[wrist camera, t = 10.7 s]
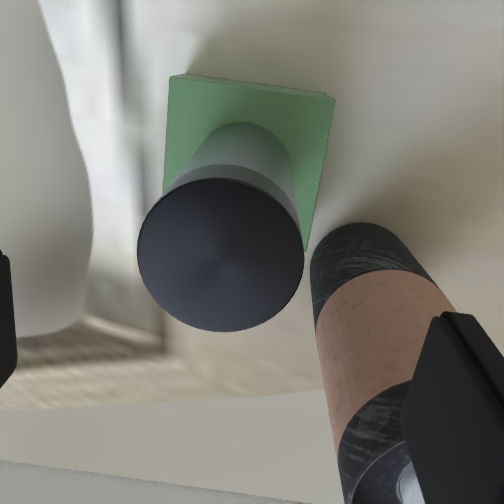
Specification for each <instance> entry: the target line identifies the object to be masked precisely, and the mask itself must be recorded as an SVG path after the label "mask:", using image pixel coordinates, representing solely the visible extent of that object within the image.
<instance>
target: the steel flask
mask: <svg viewBox="0 0 504 504" xmlns="http://www.w3.org/2000/svg"><path fill="white" fill-rule="evenodd" d="M137 259H138V266H139V270H140V274H141V276H142V279H143V282H144V284H145V286H146V288H147V289H148V291H149V293H150V294H151V295H152V297H153V298H154V300H155V301H156V302H157V303H158V304H159V305H160V306H161V307H162V308H163V309H164V310H165V311H166V312H168V313H169V314H170V315H172V316H173V317H175V318H176V319H178V320H180V321H181V322H183V323H185V324H187V325H190V326H193V327H195V328H199V329H202V330H207V331H213V332H235V331H241V330H246V329H249V328H252V327H255V326H257V325H260V324H262V323H264V322H266V321H267V320H269V319H271V318H272V317H274V316H275V315H276V314H277V313H279V312H280V311H281V310H282V309H283V308H284V307H285V306H286V305H287V304H288V302H289V301H290V300H291V298H292V297H293V296H294V294H295V292H296V290H297V288H298V286H299V283H300V281H301V278H302V274H303V269H304V246H303V240H302V234H301V228H300V222H299V217H298V211H297V205H296V199H295V193H294V187H293V181H292V175H291V169H290V164H289V159H288V155H287V153H286V150H285V148H284V146H283V145H282V143H281V142H280V140H279V139H278V138H277V137H276V136H275V135H274V134H273V133H271V132H270V131H269V130H267V129H266V128H264V127H261V126H259V125H256V124H253V123H247V122H238V123H232V124H228V125H225V126H223V127H221V128H219V129H217V130H215V131H214V132H213V133H212V134H210V135H209V136H208V138H207V139H206V140H205V141H204V142H203V144H202V145H201V146H200V147H199V149H198V150H197V151H196V153H195V154H194V155H193V156H192V158H191V159H190V160H189V161H188V163H187V164H186V165H185V167H184V168H183V169H182V170H181V172H180V173H179V174H178V175H177V177H176V178H175V179H174V181H173V182H172V183H171V184H170V186H169V187H168V188H167V189H166V191H165V192H164V193H163V195H162V196H161V197H160V198H159V200H158V201H157V202H156V203H155V205H154V206H153V207H152V209H151V210H150V211H149V213H148V214H147V216H146V218H145V220H144V222H143V224H142V227H141V230H140V233H139V237H138V243H137Z"/></svg>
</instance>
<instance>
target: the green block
mask: <svg viewBox="0 0 504 504" xmlns="http://www.w3.org/2000/svg"><path fill="white" fill-rule="evenodd" d="M334 104H335V100H334V99H333V98H331V97H330V96H329V95H327V94H326V93H321V92H314V91H307V90H300V89H293V88H285V87H278V86H271V85H264V84H257V83H250V82H243V81H236V80H228V79H221V78H214V77H207V76H200V75H193V74H181V75H176V76H171V77H170V79H169V95H168V112H167V129H166V146H165V163H164V180H163V193H164V192H165V191H166V189H167V188H168V187H169V186H170V184H171V183H172V182H173V181H174V179H175V178H176V177H177V175H178V174H179V173H180V172H181V170H182V169H183V168H184V167H185V165H186V164H187V163H188V161H189V160H190V159H191V158H192V156H193V155H194V154H195V153H196V151H197V150H198V149H199V147H200V146H201V145H202V144H203V142H204V141H205V140H206V139H207V138H208V136H209V135H210V134H212V133H213V132H214V131H215V130H217V129H219V128H221V127H223V126H225V125H228V124H232V123H238V122H247V123H253V124H256V125H259V126H261V127H264V128H266V129H267V130H269V131H270V132H271V133H273V134H274V135H275V136H276V137H277V138H278V139H279V140H280V142H281V143H282V145H283V146H284V148H285V150H286V153H287V155H288V159H289V164H290V169H291V175H292V181H293V187H294V193H295V199H296V205H297V211H298V217H299V222H300V228H301V234H302V240H303V246H304V252H307V247H308V241H309V236H310V231H311V226H312V220H313V215H314V210H315V204H316V199H317V194H318V189H319V183H320V178H321V173H322V167H323V162H324V157H325V151H326V146H327V141H328V136H329V130H330V125H331V120H332V114H333V109H334Z"/></svg>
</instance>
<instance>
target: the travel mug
mask: <svg viewBox="0 0 504 504" xmlns="http://www.w3.org/2000/svg"><path fill="white" fill-rule="evenodd" d="M310 283H311V294H312V304H313V314H314V324H315V334H316V341H317V347H318V353H319V359H320V364H321V370H322V376H323V381H324V387H325V393H326V399H327V404H328V410H329V416H330V422H331V427H332V433H333V439H334V444H335V450H336V456H337V462H338V468H339V473H340V479H341V485H342V490H343V496H344V502H345V504H425V502H424V499H423V495H422V492H421V489H420V486H419V483H418V480H417V477H416V474H415V470H414V467H413V464H412V461H411V458H410V455H409V452H408V449H407V445H406V442H405V439H404V436H403V433H402V430H401V425H400V416H401V410H402V407H403V404H404V401H405V398H406V395H407V392H408V389H409V386H410V383H411V380H412V377H413V374H414V371H415V368H416V365H417V362H418V359H419V356H420V352H421V349H422V346H423V343H424V340H425V337H426V334H427V331H428V328H429V325H430V322H431V320H432V318H433V317H435V316H438V317H440V315H441V314H442V312H444V311H449V312H456V310H455V309H454V307H453V306H452V305H451V303H450V302H449V300H448V299H447V297H446V296H445V295H444V294H443V292H442V291H441V290H440V288H439V287H438V286H437V285H436V283H435V282H434V281H433V280H432V279H431V277H430V276H429V275H428V274H427V272H426V271H425V270H424V269H423V267H422V266H421V265H420V264H419V262H418V261H417V260H416V259H415V258H414V256H413V255H412V254H411V253H410V251H409V250H408V249H407V248H406V246H405V245H404V244H403V243H402V242H401V241H400V239H399V238H398V237H397V236H395V235H394V234H393V233H392V232H391V231H389V230H388V229H386V228H384V227H382V226H379V225H376V224H371V223H353V224H348V225H345V226H342V227H340V228H337V229H336V230H334V231H332V232H331V233H329V234H328V235H327V236H326V237H325V238H324V239H323V240H322V241H321V242H320V243H319V245H318V246H317V248H316V249H315V251H314V253H313V256H312V259H311V263H310ZM456 313H457V312H456Z"/></svg>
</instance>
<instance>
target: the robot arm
mask: <svg viewBox="0 0 504 504" xmlns="http://www.w3.org/2000/svg"><path fill="white" fill-rule="evenodd" d="M16 364H17V345H16V334H15V320H14V308H13V295H12V284H11V272H10V262H9V259H8V257H7V256H6V255H3V254H2V252H1V250H0V388H1V387H2V386H3V384H4V383H5V382H6V381H7V380H8V378H9V377H10V376H11V375H12V373H13V372H14V370H15V367H16ZM400 425H401V430H402V433H403V436H404V439H405V442H406V445H407V449H408V452H409V455H410V458H411V461H412V464H413V467H414V470H415V474H416V477H417V480H418V483H419V486H420V489H421V492H422V495H423V499H424V502H425V504H504V357H503V356H502V354H501V353H500V352H499V350H498V349H497V347H496V346H495V345H494V343H493V342H492V340H491V339H490V338H489V336H488V335H487V334H486V332H485V331H484V329H483V328H482V327H481V325H480V324H479V323H478V321H477V320H476V318H475V317H474V316H473V315H470V314H463V313H456V312H449V311H444V312H442V314H441V315H440V317H438V316H435V317H433V318H432V320H431V322H430V325H429V328H428V331H427V334H426V337H425V340H424V343H423V346H422V349H421V352H420V356H419V359H418V362H417V365H416V368H415V371H414V374H413V377H412V380H411V383H410V386H409V389H408V392H407V395H406V398H405V401H404V404H403V407H402V410H401V416H400ZM0 504H310V503H302V502H296V501H289V500H282V499H276V498H268V497H261V496H255V495H248V494H241V493H234V492H227V491H219V490H213V489H205V488H198V487H191V486H184V485H177V484H170V483H163V482H155V481H149V480H141V479H133V478H127V477H120V476H113V475H106V474H98V473H91V472H84V471H77V470H69V469H62V468H55V467H47V466H40V465H33V464H25V463H18V462H10V461H3V460H0Z"/></svg>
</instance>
